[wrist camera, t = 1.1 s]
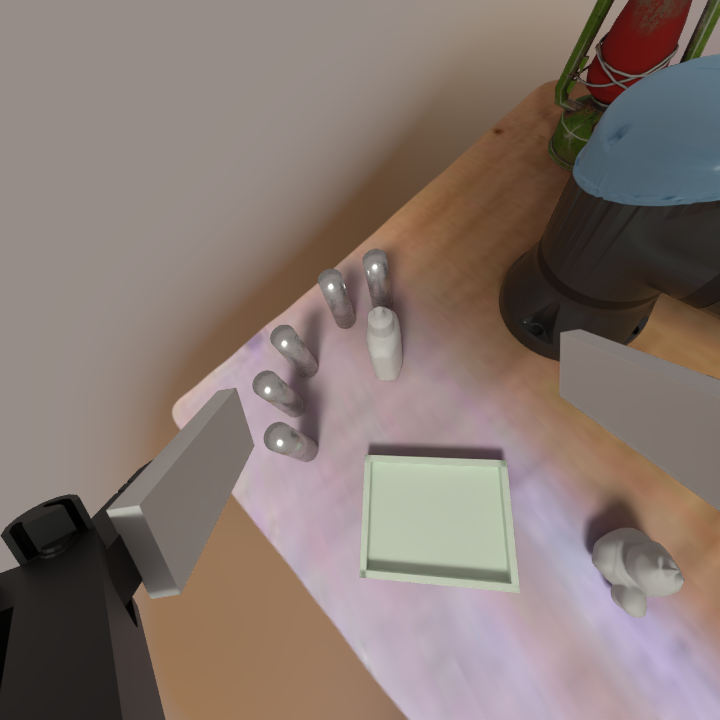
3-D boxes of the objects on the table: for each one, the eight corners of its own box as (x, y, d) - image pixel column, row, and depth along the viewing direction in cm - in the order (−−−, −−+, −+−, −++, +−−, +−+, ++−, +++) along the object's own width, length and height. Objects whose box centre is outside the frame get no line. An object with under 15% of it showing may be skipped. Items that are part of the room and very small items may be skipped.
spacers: (395, 298, 45) (391, 252, 36) (311, 465, 38) (282, 456, 30) (346, 282, 47) (331, 235, 38) (258, 437, 40) (217, 421, 32)
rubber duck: (655, 541, 31) (730, 554, 24) (644, 620, 29) (722, 661, 22) (590, 514, 32) (641, 519, 25) (576, 588, 30) (626, 616, 23)
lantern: (528, 165, 50) (666, -247, 22) (545, 117, 53) (686, -297, 25) (636, 182, 46) (966, -293, 18) (648, 129, 49) (945, -345, 21)
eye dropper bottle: (416, 350, 41) (416, 296, 30) (391, 387, 40) (381, 345, 29) (385, 334, 43) (375, 277, 32) (360, 369, 42) (341, 323, 31)
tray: (501, 462, 35) (506, 460, 33) (513, 587, 31) (519, 592, 29) (367, 457, 37) (365, 454, 36) (362, 572, 33) (359, 577, 32)
